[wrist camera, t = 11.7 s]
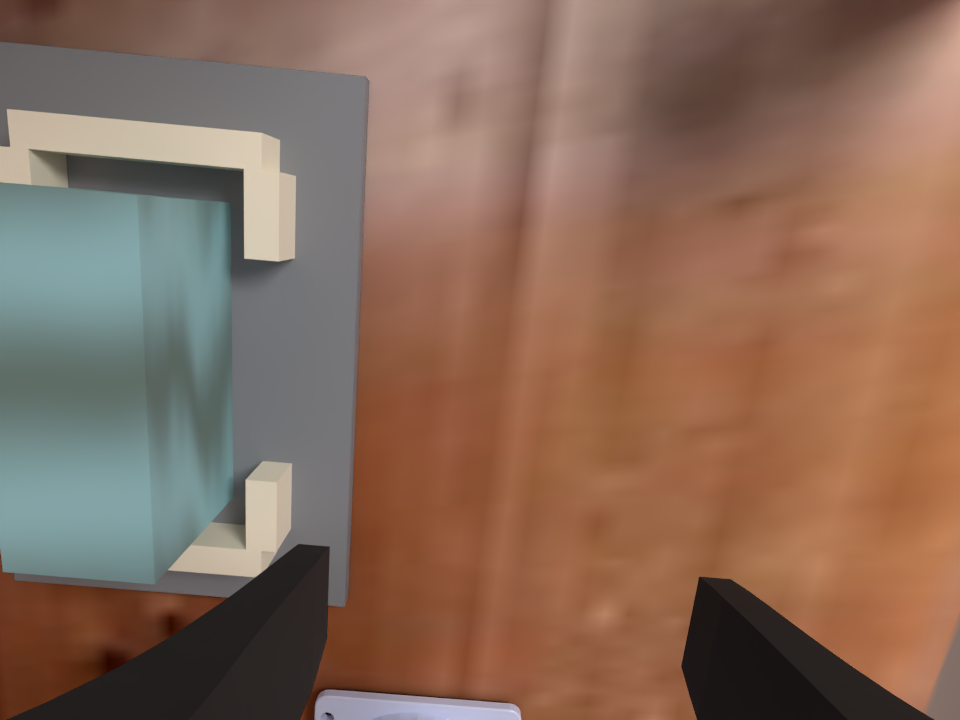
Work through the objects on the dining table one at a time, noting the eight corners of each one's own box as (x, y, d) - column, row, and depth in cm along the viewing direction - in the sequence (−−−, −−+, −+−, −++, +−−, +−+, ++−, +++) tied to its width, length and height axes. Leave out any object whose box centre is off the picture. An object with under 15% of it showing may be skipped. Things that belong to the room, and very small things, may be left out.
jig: (348, 596, 22) (334, 635, 20) (27, 570, 22) (-21, 607, 20) (369, 81, 18) (354, 62, 16) (-29, 43, 17) (-96, 19, 15)
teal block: (233, 497, 20) (154, 584, 15) (118, 487, 20) (3, 571, 15) (230, 202, 18) (137, 195, 13) (100, 190, 18) (-42, 178, 13)
